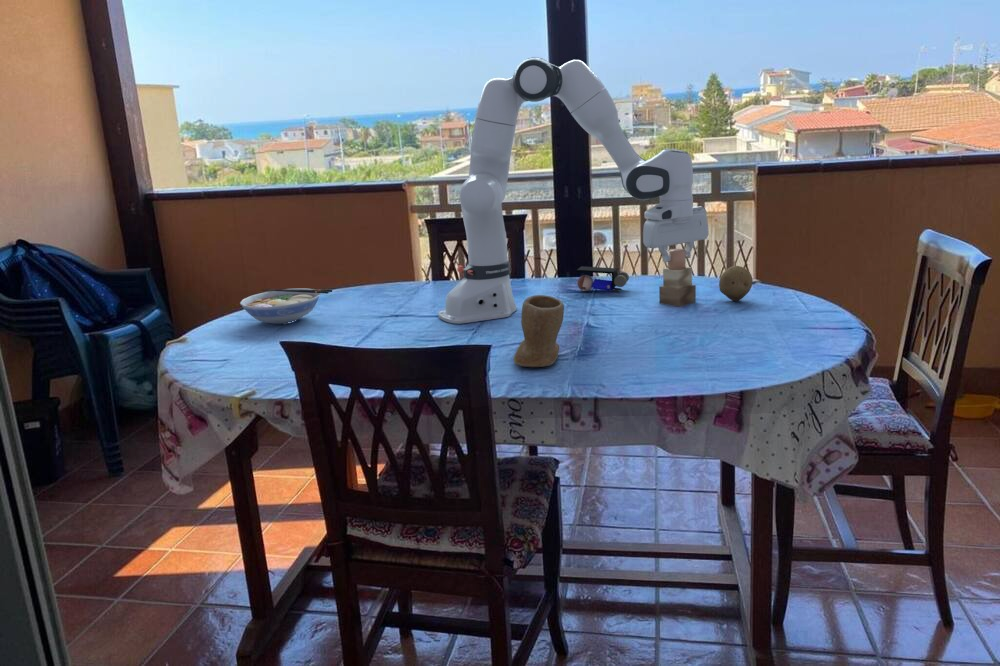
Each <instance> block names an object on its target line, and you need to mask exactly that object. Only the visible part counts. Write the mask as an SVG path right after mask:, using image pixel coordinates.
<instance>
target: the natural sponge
mask: <svg viewBox="0 0 1000 666" xmlns="http://www.w3.org/2000/svg"><path fill="white" fill-rule="evenodd" d="M753 281H754V279H753V276H752V273H750V271H749V270H748V269H747V268H746V267H743V266H742V265H732V266H729V267H728V268H727V269H725V270H724V272H723V273H721V276H720V278H719V282H718V286H719V287H718V288H719V291H720V292H721V294H722V295H724V296H725V297H726V298H727V299H729V300H731V301H733V302H738V301H741V300H742V299H744V298H745V296H747V294H748V293H749V292H750V291H751V288H752V287H753Z"/></svg>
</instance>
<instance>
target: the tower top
mask: <svg viewBox="0 0 1000 666" xmlns="http://www.w3.org/2000/svg"><path fill="white" fill-rule="evenodd" d="M662 276H663V277H662V278H663V282H662V283H663V284H662V286H666V287H671V288H677V289H679V288H683V287H687V286H690V285H693V269H692V267H691V266H686V268H685V269H682V270H670V269H668V266H667V267H663V268H662Z"/></svg>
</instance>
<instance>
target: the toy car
mask: <svg viewBox="0 0 1000 666" xmlns="http://www.w3.org/2000/svg"><path fill="white" fill-rule="evenodd" d="M618 269H619V268H618V267H598V266H583V265H582V266H580V267H579V268H577V269H576V273H594V274H611V280H608V279H599V278H593V277H591V275H589V274H588V275H587V274H583V275H581V276H580V277H578V279H577V283H576V284H577V287H578V288H579V290H580V291H582V292H588V291H591V290H592V289H593V290H601V291H610V292H611V293H613V292H614V293H620V292H621V291H622V290H623V289H622V288H623V287H625V286H626V285H627V283H628V281H629V279H630V276H629V274H628V273H627V272H626V271H620V272H619V273H618Z"/></svg>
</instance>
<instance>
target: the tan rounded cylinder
mask: <svg viewBox="0 0 1000 666" xmlns="http://www.w3.org/2000/svg"><path fill="white" fill-rule="evenodd" d="M685 249H686V248H670V249H668V250H667V253H668V255H671V261H670V262H667V267H668V269H670V270H682V269H685V268H686V267H687V266H686V265H687V264H686V263H687V258H686V250H685Z"/></svg>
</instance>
